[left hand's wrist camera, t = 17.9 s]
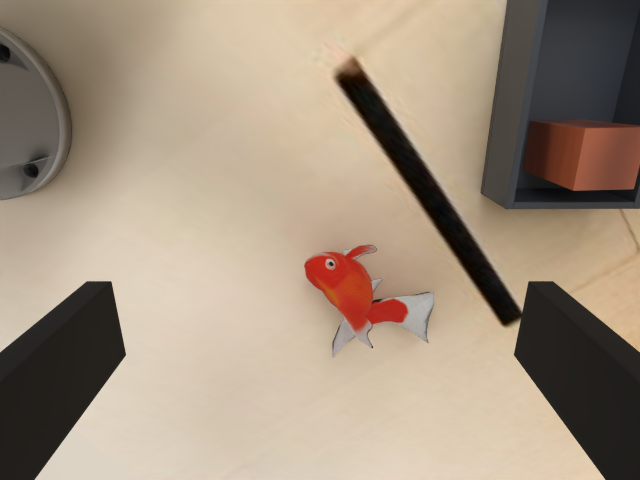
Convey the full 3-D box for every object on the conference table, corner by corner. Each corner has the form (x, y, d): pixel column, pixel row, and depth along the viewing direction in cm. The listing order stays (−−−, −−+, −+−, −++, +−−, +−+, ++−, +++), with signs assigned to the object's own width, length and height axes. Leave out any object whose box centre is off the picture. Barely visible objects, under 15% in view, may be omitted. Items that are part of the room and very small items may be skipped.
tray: (480, 193, 39) (505, 209, 34) (526, -138, 30) (570, -186, 25) (596, 192, 39) (640, 208, 34) (676, -138, 30) (752, -187, 25)
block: (522, 170, 37) (573, 190, 30) (529, 120, 36) (585, 128, 28) (571, 169, 37) (634, 189, 30) (580, 119, 36) (649, 126, 28)
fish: (396, 193, 34) (401, 297, 28) (447, 285, 44) (459, 375, 38) (289, 226, 38) (273, 321, 32) (358, 302, 49) (356, 385, 43)
